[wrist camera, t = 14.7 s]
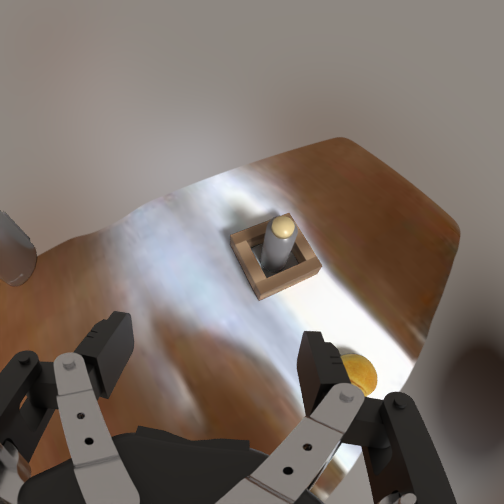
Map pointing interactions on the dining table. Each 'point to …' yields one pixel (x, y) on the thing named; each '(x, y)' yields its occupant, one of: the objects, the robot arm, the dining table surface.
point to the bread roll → (360, 372)
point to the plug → (278, 243)
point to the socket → (279, 281)
